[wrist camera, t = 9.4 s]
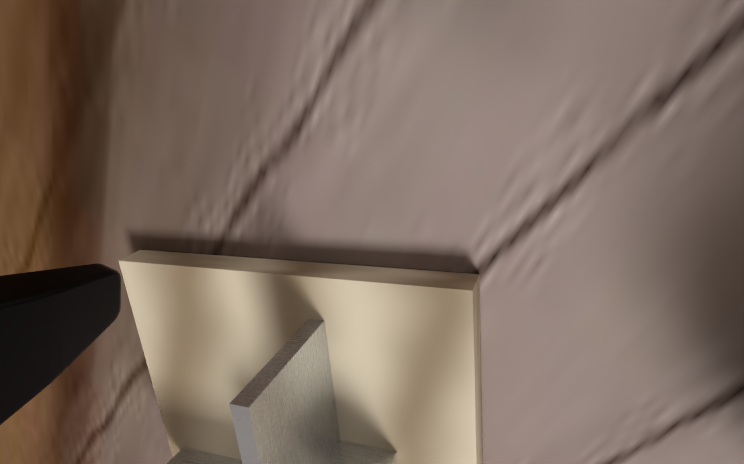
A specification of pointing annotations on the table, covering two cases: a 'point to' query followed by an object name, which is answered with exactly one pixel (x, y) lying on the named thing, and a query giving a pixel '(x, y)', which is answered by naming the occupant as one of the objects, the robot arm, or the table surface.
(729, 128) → the table surface
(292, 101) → the table surface
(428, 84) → the table surface
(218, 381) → the beige panel with ridges
